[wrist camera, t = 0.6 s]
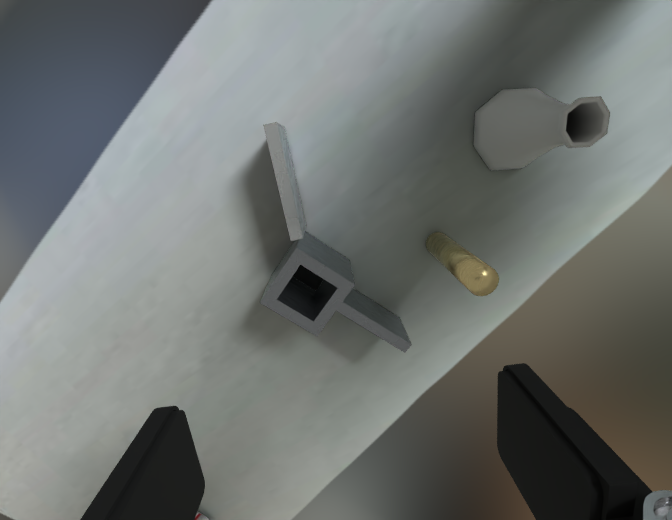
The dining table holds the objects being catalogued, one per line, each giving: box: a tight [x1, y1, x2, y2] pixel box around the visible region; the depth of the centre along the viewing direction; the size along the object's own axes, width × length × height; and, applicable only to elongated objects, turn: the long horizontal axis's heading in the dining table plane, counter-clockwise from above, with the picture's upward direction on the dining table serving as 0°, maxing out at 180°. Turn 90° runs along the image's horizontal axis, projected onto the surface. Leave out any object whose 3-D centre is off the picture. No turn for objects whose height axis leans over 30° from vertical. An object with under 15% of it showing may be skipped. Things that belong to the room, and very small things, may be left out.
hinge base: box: [260, 231, 412, 352], centre depth 34 cm, size 6×14×7 cm, turn 56°
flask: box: [473, 88, 610, 171], centre depth 28 cm, size 7×7×10 cm
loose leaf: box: [263, 122, 306, 241], centre depth 31 cm, size 1×9×6 cm, turn 11°
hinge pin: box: [426, 232, 499, 296], centre depth 31 cm, size 2×2×11 cm
